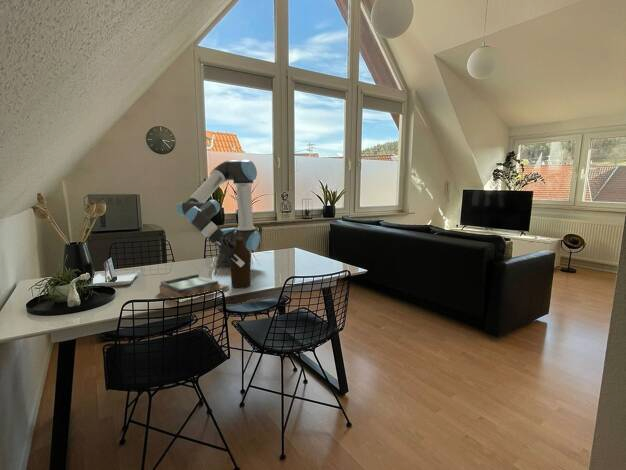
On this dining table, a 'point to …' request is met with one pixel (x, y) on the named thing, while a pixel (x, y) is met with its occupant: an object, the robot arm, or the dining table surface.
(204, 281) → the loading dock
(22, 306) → the dining table surface
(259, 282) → the dining table surface
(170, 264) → the dining table surface
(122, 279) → the salad plate
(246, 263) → the olive oil
